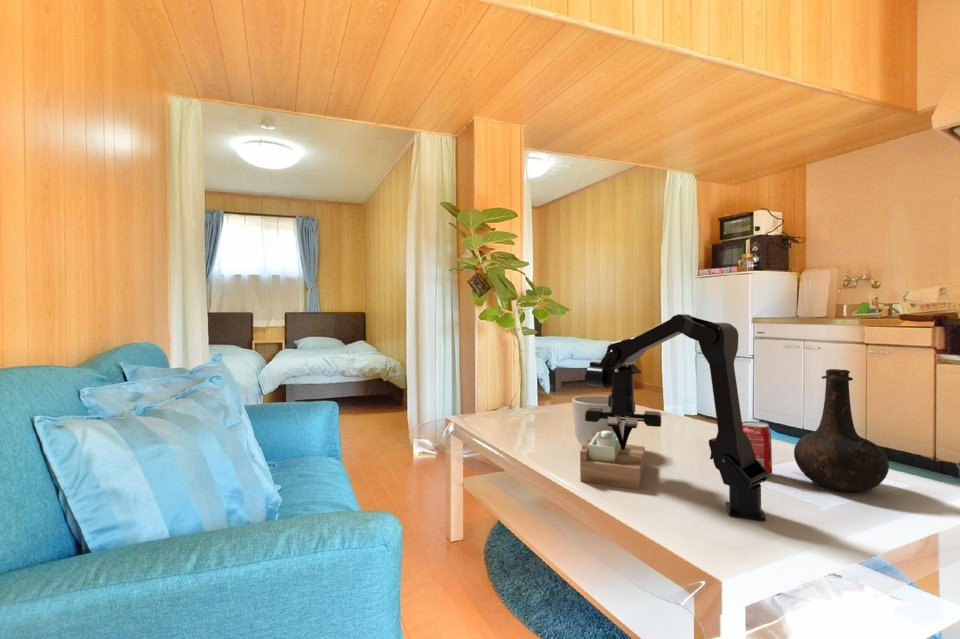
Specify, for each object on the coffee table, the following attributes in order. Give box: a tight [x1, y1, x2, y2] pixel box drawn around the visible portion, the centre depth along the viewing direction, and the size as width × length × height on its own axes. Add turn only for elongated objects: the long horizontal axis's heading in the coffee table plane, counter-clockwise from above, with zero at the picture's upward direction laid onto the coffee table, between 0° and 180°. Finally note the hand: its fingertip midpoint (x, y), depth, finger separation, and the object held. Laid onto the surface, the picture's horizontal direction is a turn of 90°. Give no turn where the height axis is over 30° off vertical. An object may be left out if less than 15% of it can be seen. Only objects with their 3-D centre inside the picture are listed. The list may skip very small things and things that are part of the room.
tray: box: [588, 431, 621, 462], centre depth 118 cm, size 14×6×5 cm, turn 156°
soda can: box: [742, 420, 773, 477], centre depth 115 cm, size 7×7×13 cm
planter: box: [571, 394, 626, 447], centre depth 140 cm, size 17×17×15 cm
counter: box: [579, 433, 646, 490], centre depth 117 cm, size 20×14×8 cm
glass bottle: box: [793, 368, 890, 493], centre depth 107 cm, size 18×18×28 cm
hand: (623, 449), depth 116 cm, fingers closed
